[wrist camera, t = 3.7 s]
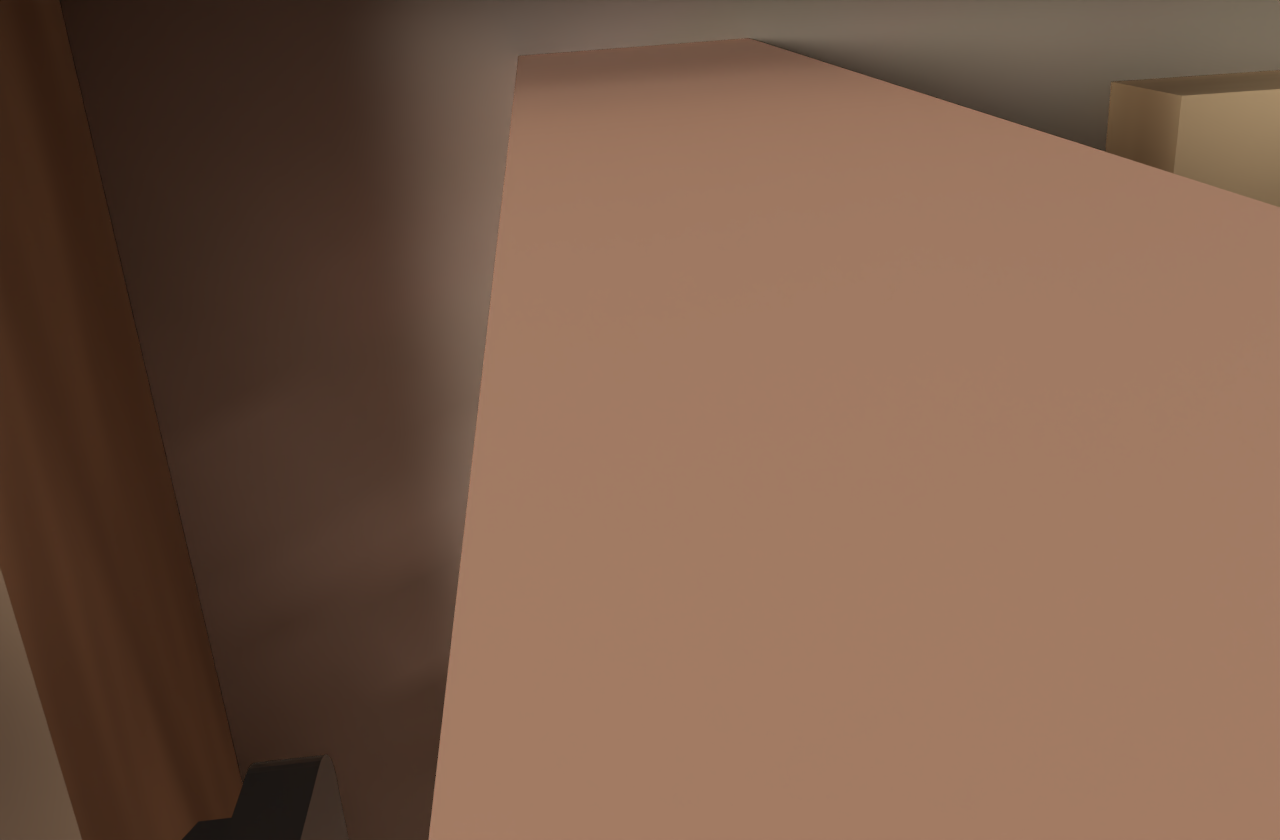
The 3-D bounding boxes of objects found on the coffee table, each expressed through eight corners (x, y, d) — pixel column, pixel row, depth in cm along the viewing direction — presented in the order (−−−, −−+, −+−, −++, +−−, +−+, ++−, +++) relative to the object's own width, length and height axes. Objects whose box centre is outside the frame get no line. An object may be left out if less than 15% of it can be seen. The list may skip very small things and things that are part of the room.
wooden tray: (1944, -317, 15) (2582, -446, 10) (1584, 921, 22) (1860, 1171, 18) (-94, -190, 14) (-421, -272, 9) (243, 1090, 21) (162, 1410, 16)
